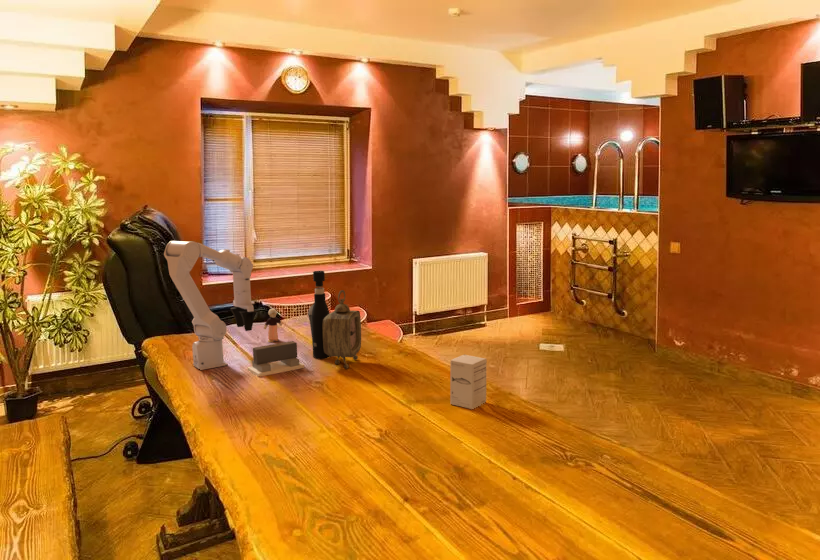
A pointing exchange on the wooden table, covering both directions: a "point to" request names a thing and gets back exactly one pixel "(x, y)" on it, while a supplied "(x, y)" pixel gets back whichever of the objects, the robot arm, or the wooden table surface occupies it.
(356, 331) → the tabletop clock
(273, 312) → the grandmother figurine
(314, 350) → the wine bottle
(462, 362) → the supplement box
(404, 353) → the wooden table surface
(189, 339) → the wooden table surface
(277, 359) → the handle bar
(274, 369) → the stand
